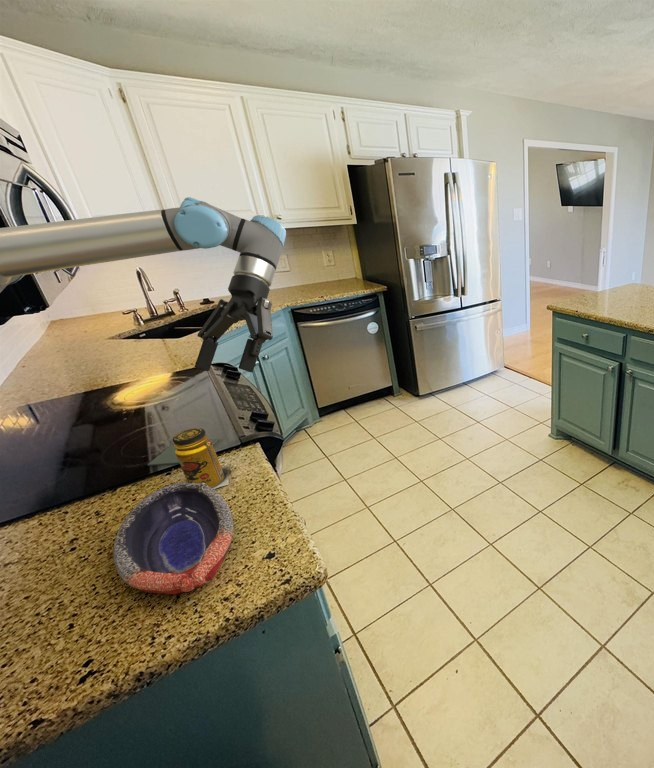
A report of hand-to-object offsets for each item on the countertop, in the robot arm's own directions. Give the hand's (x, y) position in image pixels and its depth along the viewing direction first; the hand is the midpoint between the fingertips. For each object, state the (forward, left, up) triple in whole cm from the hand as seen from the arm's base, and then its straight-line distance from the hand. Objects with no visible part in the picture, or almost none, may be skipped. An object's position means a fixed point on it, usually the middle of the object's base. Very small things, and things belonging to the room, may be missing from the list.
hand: (222, 369), depth 87 cm
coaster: (-16, -2, -21) cm, 27 cm away
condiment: (-1, -11, -21) cm, 24 cm away
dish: (+10, -28, -21) cm, 36 cm away
